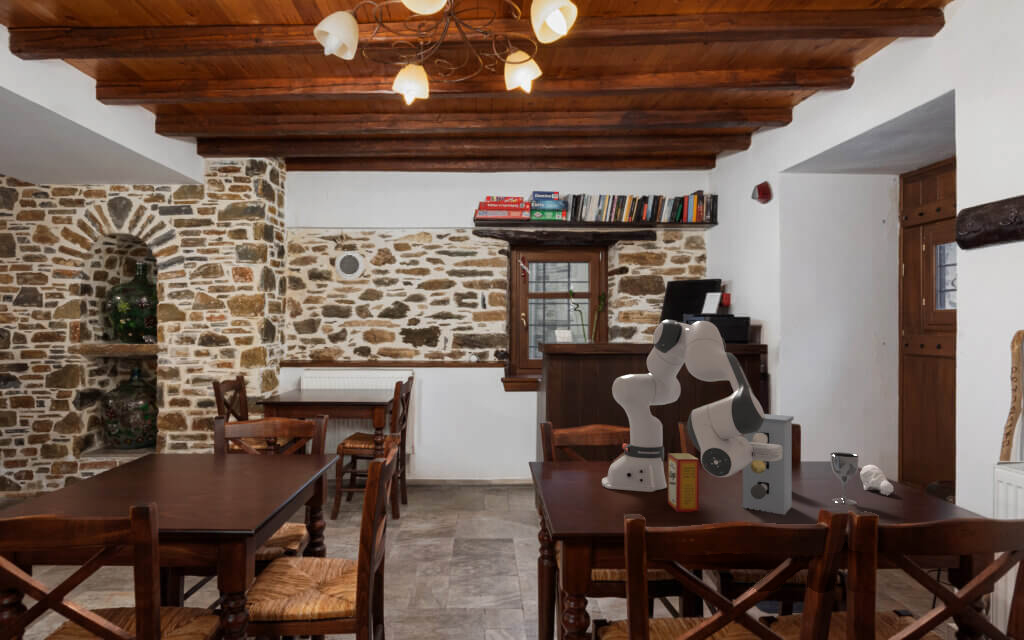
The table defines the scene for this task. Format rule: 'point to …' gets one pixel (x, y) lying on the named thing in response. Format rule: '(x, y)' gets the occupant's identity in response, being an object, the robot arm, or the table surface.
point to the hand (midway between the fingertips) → (748, 445)
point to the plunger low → (759, 490)
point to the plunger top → (761, 438)
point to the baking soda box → (683, 482)
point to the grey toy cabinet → (772, 468)
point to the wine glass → (844, 472)
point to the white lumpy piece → (875, 479)
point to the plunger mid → (759, 466)
